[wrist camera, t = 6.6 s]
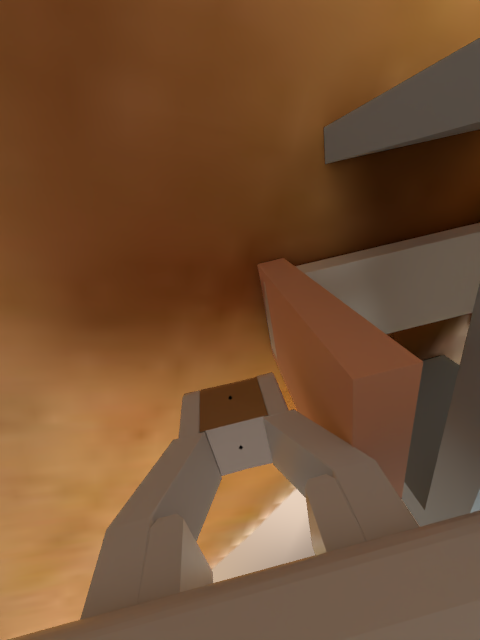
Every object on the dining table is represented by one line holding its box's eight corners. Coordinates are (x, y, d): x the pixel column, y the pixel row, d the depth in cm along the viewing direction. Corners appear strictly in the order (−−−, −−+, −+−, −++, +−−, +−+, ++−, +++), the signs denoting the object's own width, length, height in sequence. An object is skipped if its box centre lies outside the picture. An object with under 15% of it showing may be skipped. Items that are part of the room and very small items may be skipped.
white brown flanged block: (251, 229, 11) (352, 294, 3) (532, 164, 11) (1148, 102, 4) (276, 377, 14) (352, 560, 7) (487, 324, 15) (763, 446, 7)
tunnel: (323, 127, 10) (709, -95, 2) (497, 89, 10) (1352, -224, 3) (334, 397, 16) (447, 568, 9) (441, 370, 16) (639, 515, 9)
